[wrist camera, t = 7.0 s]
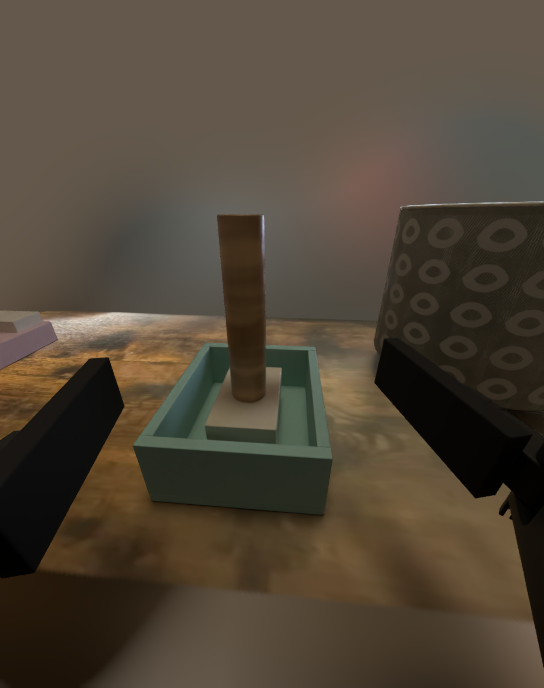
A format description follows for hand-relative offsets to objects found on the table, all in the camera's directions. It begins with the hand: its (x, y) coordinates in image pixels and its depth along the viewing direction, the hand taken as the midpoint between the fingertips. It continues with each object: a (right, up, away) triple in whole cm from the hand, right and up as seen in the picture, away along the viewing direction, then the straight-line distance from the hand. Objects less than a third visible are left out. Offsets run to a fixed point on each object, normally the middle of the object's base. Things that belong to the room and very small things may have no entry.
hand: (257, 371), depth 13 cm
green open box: (-1, -7, +10) cm, 12 cm away
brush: (-1, -6, +10) cm, 12 cm away
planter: (+23, -3, +18) cm, 29 cm away
